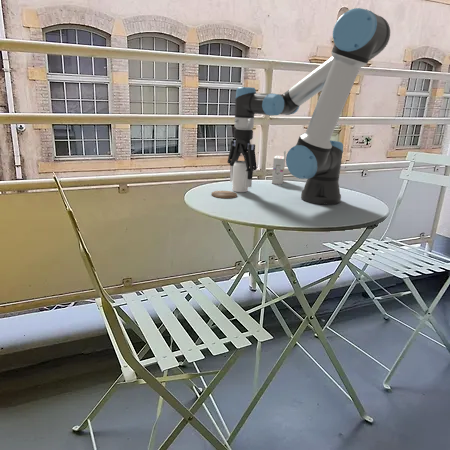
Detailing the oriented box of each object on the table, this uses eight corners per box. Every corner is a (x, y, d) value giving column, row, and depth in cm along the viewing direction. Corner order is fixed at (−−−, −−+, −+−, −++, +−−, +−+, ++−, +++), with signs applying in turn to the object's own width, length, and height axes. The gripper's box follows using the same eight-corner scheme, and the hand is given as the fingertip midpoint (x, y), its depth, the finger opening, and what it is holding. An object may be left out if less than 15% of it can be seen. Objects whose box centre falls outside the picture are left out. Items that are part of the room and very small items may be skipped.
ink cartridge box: (272, 180, 186) (275, 148, 181) (283, 181, 185) (286, 149, 180) (271, 183, 178) (274, 151, 173) (282, 184, 177) (285, 151, 172)
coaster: (241, 197, 152) (242, 195, 152) (219, 199, 147) (219, 197, 147) (228, 191, 160) (228, 189, 160) (206, 193, 155) (206, 191, 155)
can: (238, 188, 166) (240, 159, 162) (250, 191, 162) (252, 162, 158) (228, 190, 161) (230, 161, 157) (241, 193, 157) (243, 163, 154)
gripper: (220, 126, 161) (218, 179, 168) (252, 131, 143) (248, 191, 150) (235, 126, 165) (233, 177, 172) (269, 131, 147) (264, 189, 154)
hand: (240, 184), depth 161 cm, fingers open, 10 cm apart
